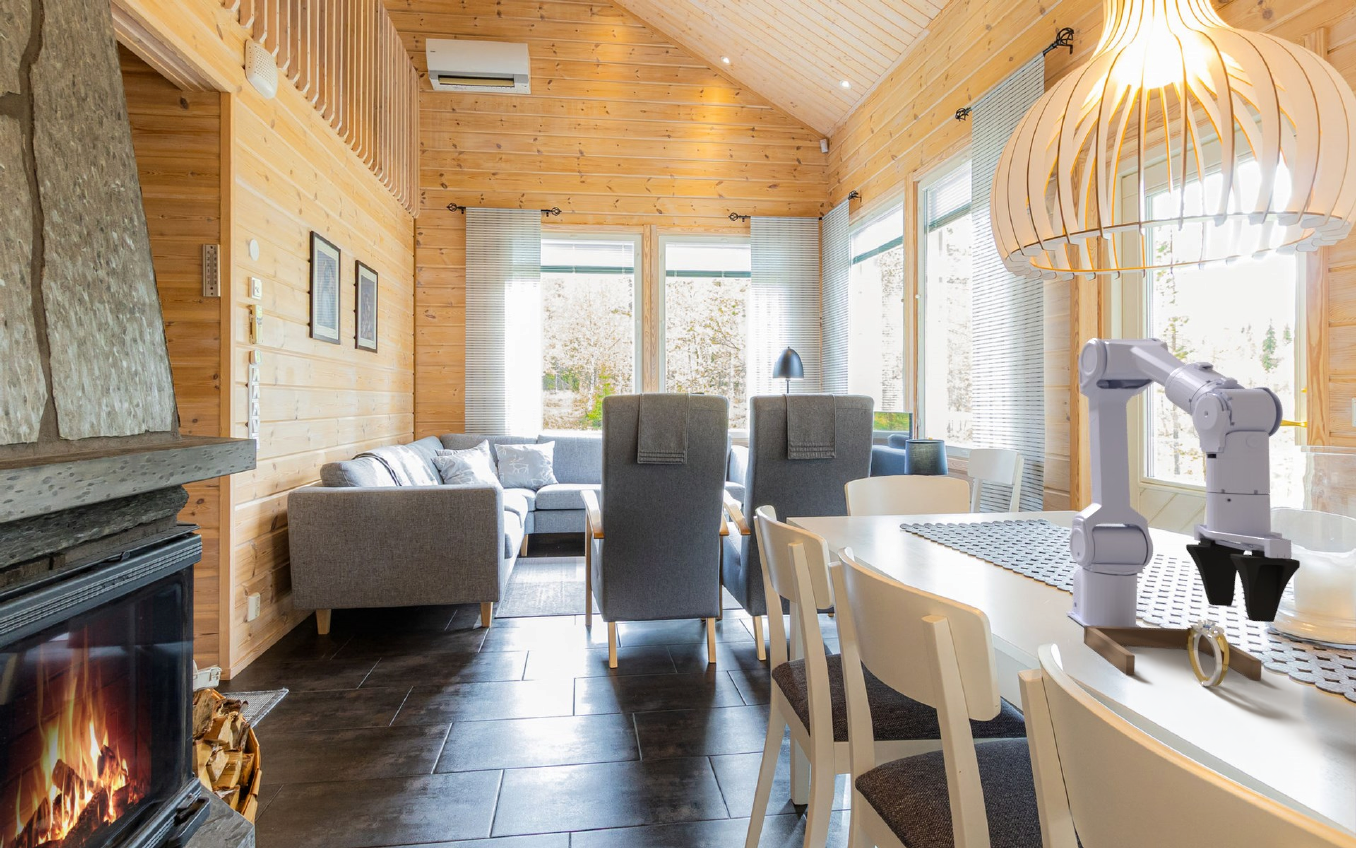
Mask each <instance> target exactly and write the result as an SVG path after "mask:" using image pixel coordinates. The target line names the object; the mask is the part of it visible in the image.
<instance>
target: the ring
mask: <svg viewBox="0 0 1356 848" xmlns="http://www.w3.org/2000/svg"><path fill="white" fill-rule="evenodd" d="M1186 629H1187V631H1186V647H1187V649H1186V650H1187V654H1188V655H1187V656H1188V659H1189V663H1190V666H1191V669H1192V672H1193V673H1194V675H1195V677H1196V678H1197V680H1198V681H1199V684H1200V686H1201V687H1212V688H1214V687H1215V688H1216V687H1219V686H1220V685H1221V684H1222V682H1223V681H1224V679H1225V678H1226V674H1227V672H1228V669H1229V668H1228V667H1229V666H1228V663H1229V647H1228V643H1229V642H1228V640H1227V638H1226V636H1225V629H1224V628H1223V627H1222V626H1219V625H1218V626H1217V623H1216V622H1215V621H1211V620H1206V619H1203V621H1202V619H1197V624H1195V623H1194V624H1191V625H1190V627H1188V628H1186ZM1201 635H1204V636H1205V637H1206V638H1207V639H1208V641H1209V642H1210V644H1211V646H1212V648H1213V652H1214V656H1215V658H1214V671H1213V675H1212V676H1211V677H1209V676H1206V674H1205V673H1204V670H1203V669H1202V666H1201V662H1200V659H1199V649H1198V643H1199V639H1200V637H1201ZM1213 636H1216V638H1214V637H1213ZM1215 639H1216V640H1217V641H1216V640H1215ZM1217 642H1218V643H1217ZM1218 644H1219V645H1218ZM1219 646H1220V648H1219ZM1220 650H1221V651H1220Z"/></svg>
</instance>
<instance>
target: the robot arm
mask: <svg viewBox="0 0 1356 848" xmlns="http://www.w3.org/2000/svg"><path fill="white" fill-rule="evenodd" d="M1077 361H1078V385H1079V393H1080V394H1081V395H1083V396H1085V397H1086V398H1087V399H1088V400H1087V409H1088V412H1087V413H1088V441H1089V442H1088V443H1089V462H1090V463H1089V464H1090V465H1089V471H1090V497H1091V501H1090V502H1091V504H1089V505H1088V506H1087V507H1085V508H1084V509H1082V510H1080V512H1078V513H1076V514H1075V515H1074V516H1073V517H1072V522H1071V523H1072V524H1071V532H1070V536H1069V541H1068V543H1069V544H1068V545H1069V550H1070V555H1071V557H1072V558H1073V560H1074V562H1075V563H1076V564H1077V565H1078V566H1079V567H1077V569H1076V570H1075V571H1074V573H1073V577H1072V579H1073V581H1072V608H1071V609H1072V610H1067V611H1065V612H1066V615H1067V616H1068V617H1070V618H1071V619H1073V620H1074V621H1076V622H1077V623H1078V624H1079V625H1081V626H1082V627H1084V625H1088V626H1117V627H1141V625H1138V624H1137V606H1138V605H1137V604H1138V601H1137V599H1138V574H1139V573H1141V574H1142V573H1144V570H1143V569H1144V568H1145V567H1147V566H1148V565H1149V564H1150V562H1151V560H1152V558H1153V556H1154V555H1153V554H1154V544H1153V539H1152V537H1151V535H1150V531H1149V524H1148V519H1147V518H1146V517H1144V516H1143V515H1141V514H1140V513H1139V512H1138V511H1136V510H1135V509H1134V508H1133V507H1131V499H1130V498H1131V496H1130V469H1129V468H1130V467H1129V447H1128V446H1129V444H1128V438H1129V437H1128V419H1127V418H1128V417H1127V404H1128V402H1129V401H1130V400H1131V398H1132V397H1135V396H1138V395H1140V394H1142V393H1143V392H1144V391H1145V390H1146V389H1148V388H1149V387H1150V386H1151V385H1153V384H1154V383H1157V384H1158V385H1160V386H1163V388H1164V394H1165V397H1166V398H1167V399H1168V401H1169V402H1171V403H1172V404H1174V405H1175V406H1177V407H1178V408H1179V409H1181V410H1182V411H1183V412H1185V413H1187V414H1188V415H1190V416H1191V417H1192V424H1193V426H1194V430H1195V431H1196V432H1197V435H1198V438H1199V448H1201V449H1200V450H1201V452H1202V453H1205V480H1206V481H1205V486H1206V487H1205V491H1206V492H1205V493H1206V495H1205V497H1206V501H1205V502H1206V524H1193V532H1194V533H1193V535H1194V537H1193V538H1194V540H1195V541H1198V542H1197V543H1198V544H1193V543H1191V544H1185V548H1186V551H1187V552H1188V554H1189V555H1190V557H1191V558H1192V560H1193V562H1194V564H1195V566H1196V568H1197V570H1198V574H1199V576H1200V578H1201V581H1202V585H1203V588H1204V592H1205V595H1206V598H1207V601H1208V604H1209V605H1211V606H1220V607H1221V606H1222V607H1232V605H1233V601H1234V598H1235V596H1234V595H1235V590H1236V589H1235V587H1236V577H1237V573H1238V576H1239V578H1240V583H1241V586H1242V590H1243V597H1244V599H1243V600H1244V606H1245V610H1246V615H1247V618H1248V620H1249V621H1252V622H1260V623H1261V622H1262V623H1263V622H1265V623H1273V622H1274V621H1275V619H1276V616H1277V612H1278V609H1279V605H1280V604H1281V603H1280V602H1281V600H1282V596H1283V594H1284V592H1285V589H1286V587H1287V585H1288V583H1289V582H1290V580H1291V578H1292V577H1293V576H1294V575H1295V573H1296V572H1297V571H1298V570H1299V568H1300V567H1301V561H1300V560H1298V559H1296V558H1295V559H1293V558H1292V555H1293V554H1292V540H1291V539H1288V538H1283V534H1282V533H1281V532H1278V531H1277V532H1276V531H1272V525H1271V524H1272V523H1271V478H1270V477H1271V476H1270V475H1271V473H1270V437H1272V436H1274V435H1275V434H1276V433H1277V432H1278V430H1279V429H1280V427H1281V424H1282V422H1283V418H1284V417H1283V415H1284V413H1283V412H1284V411H1283V405H1282V402H1281V399H1280V398H1279V396H1278V395H1277V394H1276V393H1275V392H1274V391H1272V390H1271V389H1270V388H1269V387H1267V386H1258V387H1257V386H1256V387H1253V388H1246V387H1245V386H1243V385H1241V384H1239V382H1238V380H1237V379H1235V378H1234V377H1228V376H1227V377H1226V376H1225V375H1223V374H1221V373H1220V372H1217V371H1216V370H1214V364H1212V363H1210V362H1209V361H1208V362H1207V361H1197V362H1194V363H1193V362H1192V363H1187V364H1185V363H1184V362H1183V361H1181V359H1179V358H1177V356H1175V355H1174V354H1172V353H1171V352H1170V351H1169V346H1168V344H1167V342H1165V341H1162V339H1160V338H1157V337H1150V338H1107V339H1106V338H1105V339H1104V338H1101V339H1100V338H1098V337H1096V338H1090V339H1088V341H1087V342H1086V343H1085V344H1084V345H1083V347H1082V349H1081V351H1080V354H1079V356H1078V360H1077ZM1103 524H1107V525H1105V526H1104V525H1103ZM1108 524H1111V525H1112V524H1114V525H1117V526H1111V525H1110V526H1109V525H1108ZM1118 524H1119V526H1118ZM1102 525H1103V526H1102ZM1120 525H1123V526H1120ZM1246 551H1247V552H1250V553H1251V554H1248V553H1247V554H1245V552H1246Z"/></svg>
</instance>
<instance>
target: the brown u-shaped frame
mask: <svg viewBox="0 0 1356 848" xmlns="http://www.w3.org/2000/svg"><path fill="white" fill-rule="evenodd" d="M1083 628H1084V630H1083V643H1084V644H1085V645H1087V646H1088V647H1089V648H1090V649H1092V650H1093V651H1095V652H1096V653H1097V654H1099V656H1100V657H1102V658H1104V659H1105V660H1106V661H1107V662H1109V663H1110V664H1111V665H1113V666H1114V667H1115V668H1117V669H1118V670H1119V671H1121V672H1122V673H1123V674H1124V675H1128V676H1135V669H1136V668H1135V665H1136V664H1135V663H1136V655H1135V654H1134V653H1132V652H1130V651H1129V650H1127V649H1126V648H1125V647H1132V648H1134V647H1135V648H1154V649H1155V648H1156V649H1157V648H1158V649H1162V648H1163V649H1185V650H1187V647H1186V631H1187V629H1188V628H1170V627H1142V626H1140V627H1117V626H1088V625H1084V626H1083ZM1213 637H1214V638H1216V636H1213ZM1215 640H1216V639H1215ZM1216 641H1217V640H1216ZM1217 643H1218V642H1217ZM1227 643H1228V647H1229V663H1228V667H1229V668H1230V669H1233V670H1234V671H1235V672H1238V673H1240V674H1242V675H1243V676H1245V677H1246V678H1248V679H1250V680H1251V681H1262V659H1259V658H1258V657H1256V656H1253V655H1252V654H1250V653H1248V652H1246V651H1244V650H1242V649H1240V648H1238V647H1237V646H1234V645H1233V644H1231V643H1229V642H1227ZM1218 645H1219V644H1218ZM1219 648H1220V646H1219ZM1199 650H1200V651H1202V652H1203V653H1205V654H1207V655H1208V656H1210V657H1212V658H1214V659H1215V656H1214V652H1213V648H1212V646H1211V644H1210V642H1209V641H1208V639H1207V638H1206V637H1205V636H1204V635H1201V637H1200V639H1199V643H1198V651H1199ZM1220 651H1221V650H1220Z"/></svg>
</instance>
